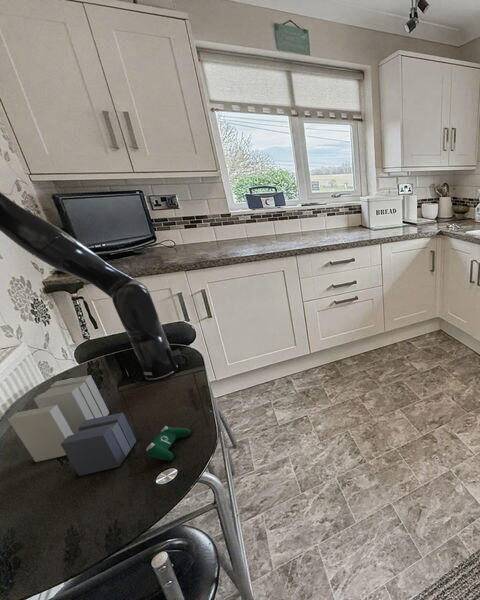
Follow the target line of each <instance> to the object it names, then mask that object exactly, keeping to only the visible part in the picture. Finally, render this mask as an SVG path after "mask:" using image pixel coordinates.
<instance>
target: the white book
mask: <svg viewBox="0 0 480 600" xmlns="http://www.w3.org/2000/svg"><path fill="white" fill-rule="evenodd" d="M7 420H8V422H9V423H10V425H11V427H12V428H13V429H14V431H15V432H16V434H17V436H18V438H19V439H20V440H21V442H22V444H23V446H25V447H24V448H26V450H27V451H28V453H29V455H30V456H31V457H32V460H34V462H35V463H37V462H38V463H39V462H41V461H43V462H44V461H46V460H52V459H57V458H59V457H60V458H61V457H66V456H67V454H66V453H65V451H64V449H63V448H62V446H61V443H62V442H63V441H64V440H65V439H66V438H67V437H68V436H69V435H74V434H73V432H72V431H71V429H70V427H69V425H68V424H67V422H66V420H65V418H64V417H63V415H62V413H61V411H60V410H59V408H58V406H57V405H53V406H48V407H43V408H39V407H38V408H33V409H28V410H23V411H17V412H15V413H14V414H12V415H11V416H10V417H9V418H8V419H7Z"/></svg>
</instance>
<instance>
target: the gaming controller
mask: <svg viewBox="0 0 480 600" xmlns="http://www.w3.org/2000/svg"><path fill="white" fill-rule="evenodd" d="M190 435H191V430H190V429H189V428H186V427H171V426H167V425H165V426H164V427H163V428H162V429H161V430H160V431H159V433H158V434H157V436H156V437H155V438H154V439H153V440H152V441H151V443H150V444H149V445H148V446H147V447H146V449H145V453H146V454H147V455H148V456H149V457H151V458H152V459H155V460H160V461H172V460H174V458H175V455H174V454H173V453H172V451H170V450H169V449H170V448H171V446H172V445H173V443H174V442H175V440H177V439H181V438H182V439H183V438H186V437H189V436H190Z"/></svg>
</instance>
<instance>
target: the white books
mask: <svg viewBox="0 0 480 600" xmlns="http://www.w3.org/2000/svg"><path fill="white" fill-rule="evenodd" d="M33 400H34V402H35V404H36V406H37V407H38V408H43V407H48V406H53V405H57V406H58V408H59V410H60V411H61V413H62V415H63V417H64V418H65V420H66V422H67V424H68V425H69V427H70V429H71V431H72V432H73V434H76V433H77V432H78V431H79V429H78V427H79V426H80V425H81V424H82V423H83V422H84V421H85V420H89V419H94V418H99V417H104V416H109V415H110V411H109V408H108V407H107V405H106V402H105V401H104V399H103V396H102V395H101V392H100V391H99V389H98V386H97V385H96V382H95V381H94V379H93V377H92V374H89V375H84V376H77V377H72V378H67V379H62V380H56V381H55V382H54V383H52V384H51V385H50V388H48V389H47V390H46V391H44V392H43V393H40V394H38V395H37V396H35V398H34V399H33Z"/></svg>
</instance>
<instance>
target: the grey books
mask: <svg viewBox="0 0 480 600" xmlns="http://www.w3.org/2000/svg"><path fill="white" fill-rule="evenodd" d="M78 429H79V431H78V432H77V433H76V434H74V435H69V436H68V437H67V438H66V439H65V440H64V441H63V442H62V443H61V446H62V448H63V449H64V451H65V453H66V454H67V455H66V456H67V458H68V460H69V461H70V463H71V465H72V467H73V468H74V470H75V471H76V474H77V475H78V476H79V477H80V476H81V477H82V476H85V475H88V474H89V475H90V474H94V473H97V472H102V471H106V470H110V469H111V470H112V469H114V468H119V467H120V466H121V465H122V463H123V462H124V461H125V459H126V457H127V456H128V454H129V453H130V451H131V450H132V448H133V447H134V445H135V444H136V443H137V439H136V437H135V435H134V433H133V431H132V429H131V427H130V424H129V422H128V420H127V418H126V416H125V413H124V412H119V413H113V414H108V415H107V416H104V417H99V418H94V419H89V420H85V421H84V422H83V423H82V424H81V425H80V426H79V427H78Z"/></svg>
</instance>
